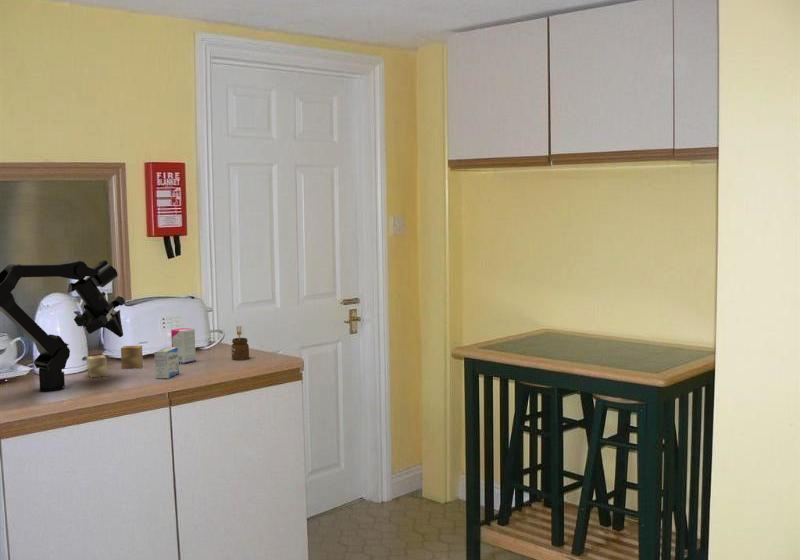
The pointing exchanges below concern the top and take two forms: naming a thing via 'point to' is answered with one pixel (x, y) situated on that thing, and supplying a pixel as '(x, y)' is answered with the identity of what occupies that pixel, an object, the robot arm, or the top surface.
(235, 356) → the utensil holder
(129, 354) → the oak block
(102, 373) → the beech block
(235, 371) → the top surface
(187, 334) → the supplement box
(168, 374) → the medicine box
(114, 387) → the top surface
